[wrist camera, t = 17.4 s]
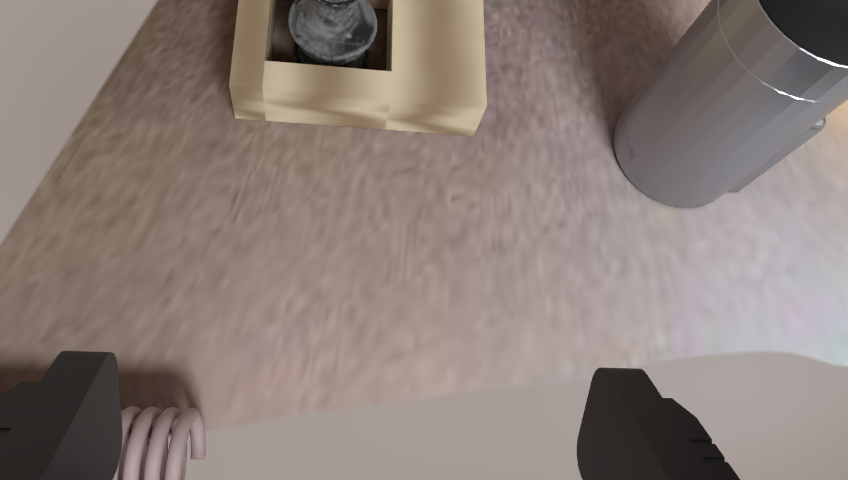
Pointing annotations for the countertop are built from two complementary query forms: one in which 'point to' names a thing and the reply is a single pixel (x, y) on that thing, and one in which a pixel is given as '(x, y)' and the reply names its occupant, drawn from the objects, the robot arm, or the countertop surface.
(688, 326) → the countertop surface
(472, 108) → the jig
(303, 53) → the grey tall knobbed piece
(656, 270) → the countertop surface
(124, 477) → the coil
